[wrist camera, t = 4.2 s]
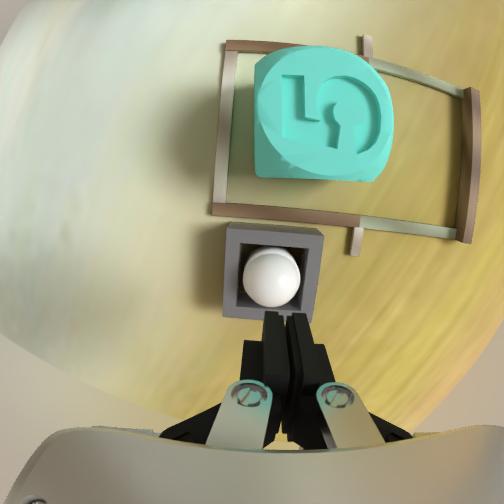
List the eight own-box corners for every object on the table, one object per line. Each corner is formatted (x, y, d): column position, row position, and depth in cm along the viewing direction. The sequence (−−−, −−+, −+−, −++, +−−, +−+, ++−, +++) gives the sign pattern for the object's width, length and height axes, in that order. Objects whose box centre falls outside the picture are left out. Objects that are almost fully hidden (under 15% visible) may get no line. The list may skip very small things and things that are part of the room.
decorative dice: (256, 82, 21) (253, 41, 13) (352, 88, 21) (389, 55, 13) (256, 176, 23) (253, 177, 15) (354, 180, 23) (395, 184, 15)
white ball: (246, 242, 23) (243, 257, 19) (299, 246, 23) (307, 262, 19) (243, 291, 24) (239, 315, 20) (293, 295, 24) (299, 319, 20)
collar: (230, 221, 24) (226, 228, 21) (316, 228, 24) (324, 235, 21) (226, 301, 26) (222, 316, 23) (306, 306, 26) (311, 322, 23)
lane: (229, 20, 19) (227, 11, 17) (467, 73, 19) (476, 69, 17) (211, 243, 24) (207, 248, 23) (456, 263, 24) (465, 268, 22)
